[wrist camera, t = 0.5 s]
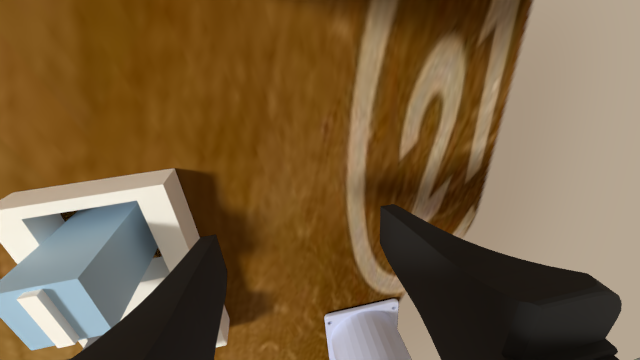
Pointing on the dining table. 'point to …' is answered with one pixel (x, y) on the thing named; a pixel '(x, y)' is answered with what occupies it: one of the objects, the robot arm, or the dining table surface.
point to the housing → (146, 188)
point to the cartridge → (78, 277)
